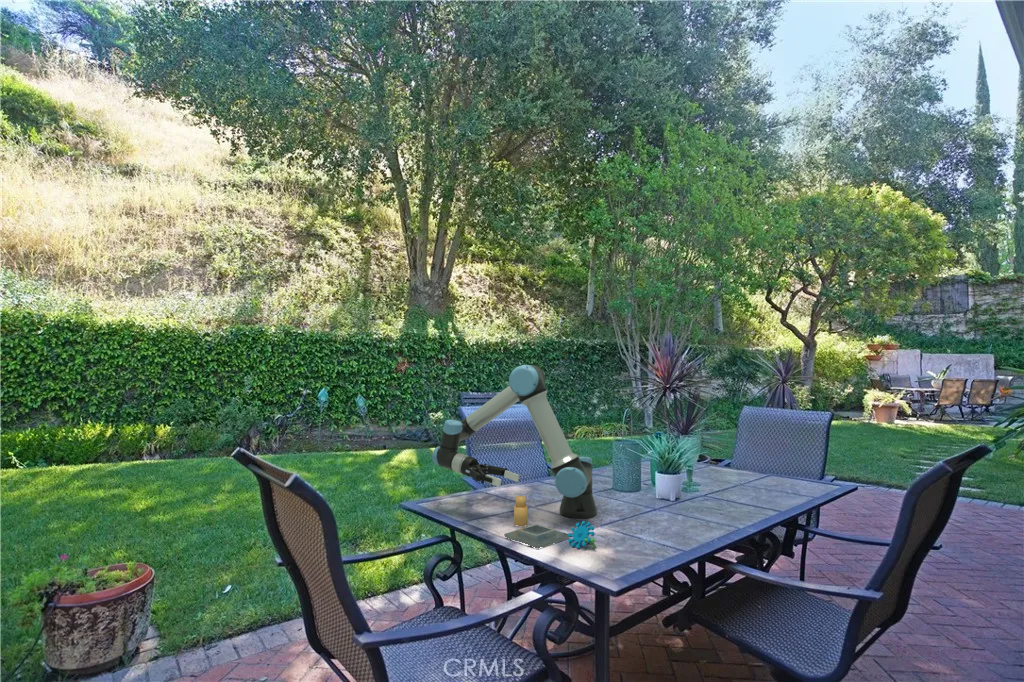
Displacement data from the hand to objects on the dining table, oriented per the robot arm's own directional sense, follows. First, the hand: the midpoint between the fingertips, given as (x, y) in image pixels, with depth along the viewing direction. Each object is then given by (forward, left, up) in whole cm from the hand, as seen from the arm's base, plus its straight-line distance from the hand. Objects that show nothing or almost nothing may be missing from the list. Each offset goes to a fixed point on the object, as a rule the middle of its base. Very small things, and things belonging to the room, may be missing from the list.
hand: (509, 480), depth 206 cm
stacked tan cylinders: (-2, +4, -16) cm, 17 cm away
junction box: (+5, +19, -16) cm, 25 cm away
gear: (-1, +35, -17) cm, 39 cm away
